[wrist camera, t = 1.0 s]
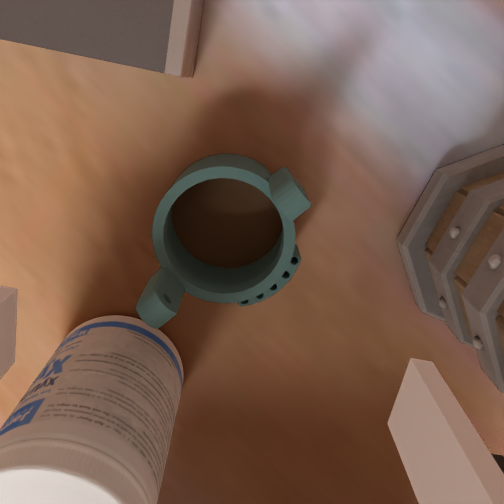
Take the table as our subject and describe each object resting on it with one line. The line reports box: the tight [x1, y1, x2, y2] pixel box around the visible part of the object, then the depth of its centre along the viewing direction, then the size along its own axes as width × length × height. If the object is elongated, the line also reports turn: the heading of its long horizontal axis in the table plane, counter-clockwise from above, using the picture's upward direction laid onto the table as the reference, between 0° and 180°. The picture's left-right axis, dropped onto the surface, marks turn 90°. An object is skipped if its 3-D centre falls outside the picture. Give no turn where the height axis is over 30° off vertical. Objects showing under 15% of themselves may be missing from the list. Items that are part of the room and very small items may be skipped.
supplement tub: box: [0, 315, 184, 504], centre depth 30 cm, size 10×10×15 cm
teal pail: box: [136, 154, 311, 329], centre depth 29 cm, size 9×9×9 cm
